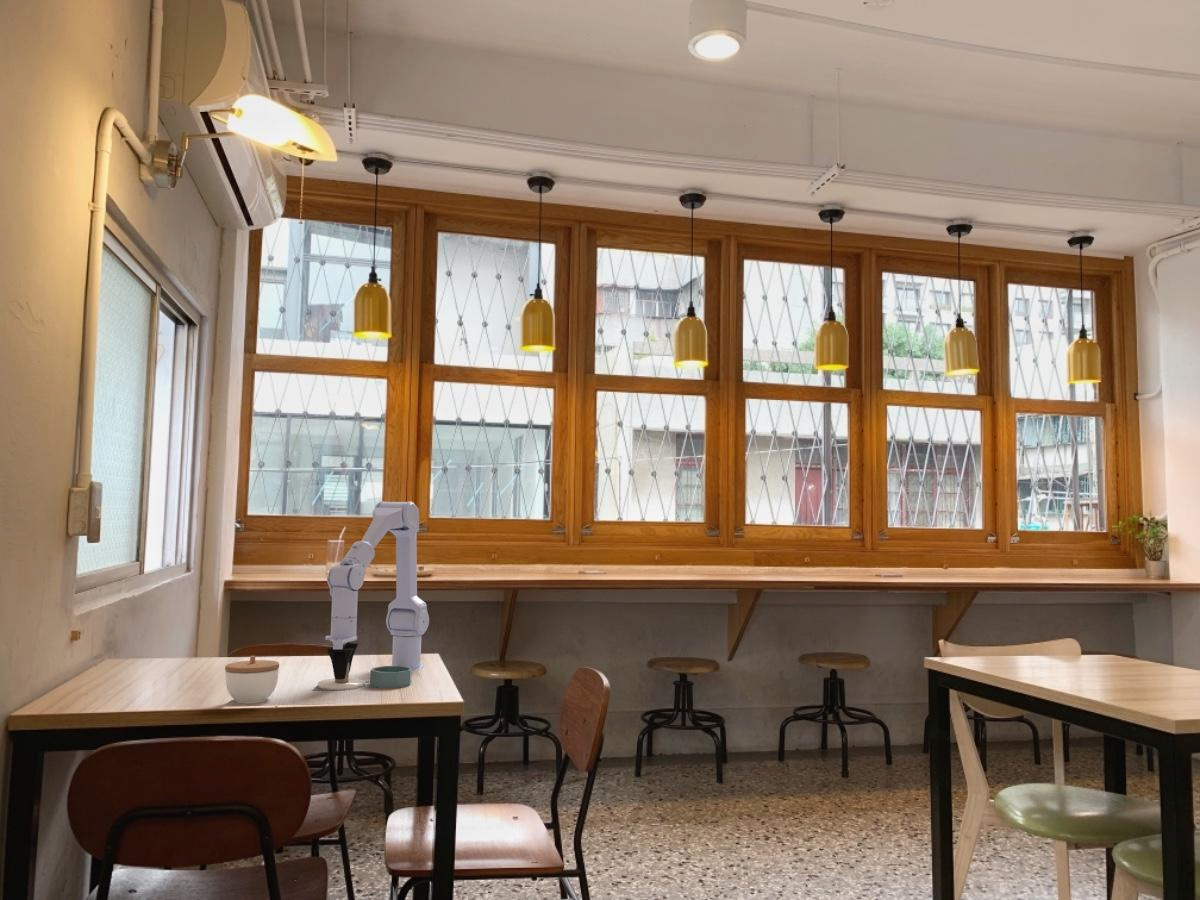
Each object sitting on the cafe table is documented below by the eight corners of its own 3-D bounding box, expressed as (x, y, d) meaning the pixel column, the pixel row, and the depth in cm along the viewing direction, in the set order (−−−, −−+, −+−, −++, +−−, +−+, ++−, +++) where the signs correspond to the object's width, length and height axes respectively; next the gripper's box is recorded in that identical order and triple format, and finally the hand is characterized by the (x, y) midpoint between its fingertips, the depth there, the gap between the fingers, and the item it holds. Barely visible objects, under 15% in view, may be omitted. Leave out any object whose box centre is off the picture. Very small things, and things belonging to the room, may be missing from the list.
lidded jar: (287, 696, 198) (288, 652, 198) (264, 706, 187) (265, 660, 188) (239, 695, 199) (240, 652, 199) (214, 705, 188) (215, 659, 189)
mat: (321, 683, 214) (321, 681, 214) (369, 683, 215) (369, 681, 215) (311, 692, 203) (312, 690, 203) (362, 692, 204) (362, 690, 204)
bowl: (373, 683, 215) (374, 665, 216) (412, 682, 216) (413, 665, 217) (368, 690, 206) (368, 672, 207) (408, 690, 207) (409, 672, 208)
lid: (322, 681, 214) (323, 659, 214) (368, 681, 215) (369, 659, 215) (313, 690, 204) (314, 666, 204) (361, 690, 205) (362, 666, 205)
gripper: (332, 613, 217) (330, 671, 216) (320, 620, 203) (317, 682, 202) (362, 613, 218) (360, 671, 217) (352, 620, 204) (350, 682, 203)
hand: (341, 676), depth 209 cm, fingers open, 5 cm apart
